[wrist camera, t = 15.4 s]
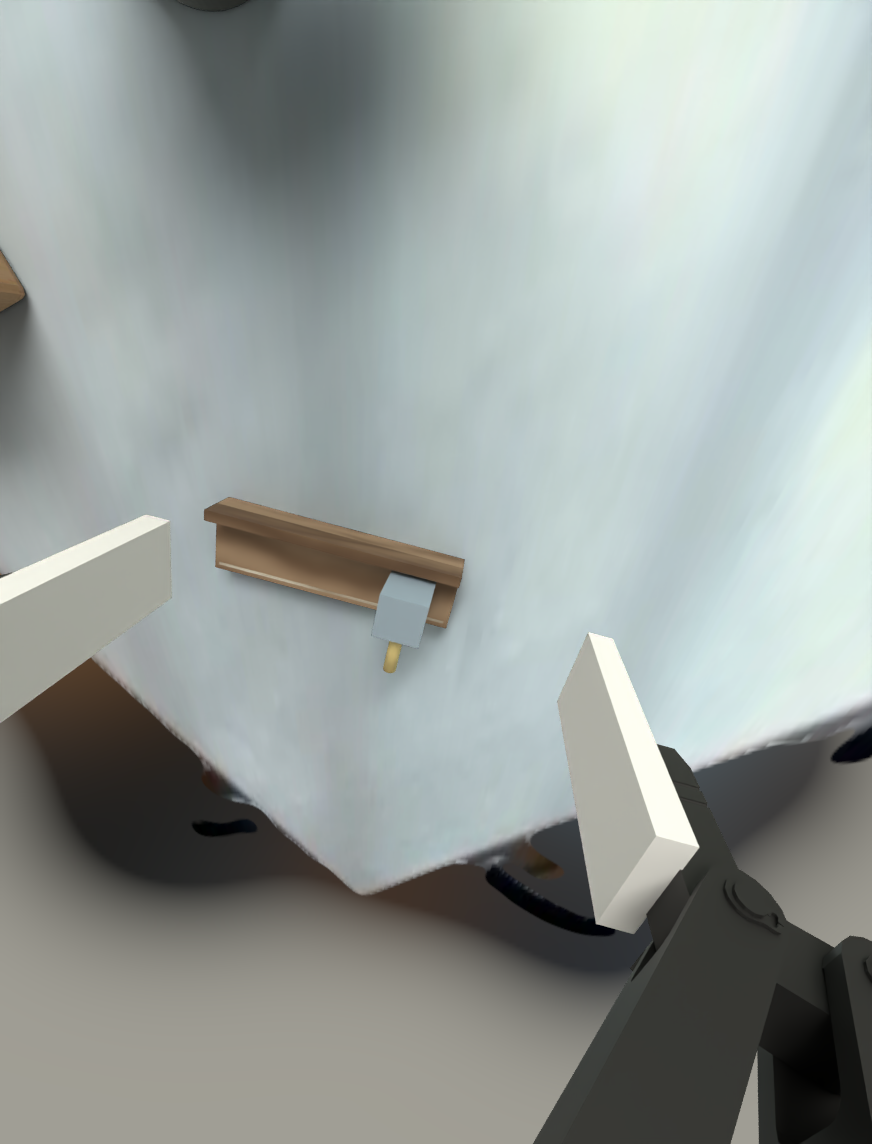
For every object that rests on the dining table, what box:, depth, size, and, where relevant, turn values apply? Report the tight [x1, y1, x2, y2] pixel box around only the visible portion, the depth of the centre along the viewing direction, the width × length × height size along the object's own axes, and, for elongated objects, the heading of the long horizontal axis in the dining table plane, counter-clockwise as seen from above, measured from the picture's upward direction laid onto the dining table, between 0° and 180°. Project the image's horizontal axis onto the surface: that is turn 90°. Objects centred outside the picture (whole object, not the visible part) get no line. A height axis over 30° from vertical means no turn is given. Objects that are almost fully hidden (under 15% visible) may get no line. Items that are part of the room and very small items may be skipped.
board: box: [204, 497, 465, 628], centre depth 53 cm, size 8×28×5 cm, turn 77°
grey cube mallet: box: [371, 570, 436, 673], centre depth 51 cm, size 10×5×7 cm, turn 166°
